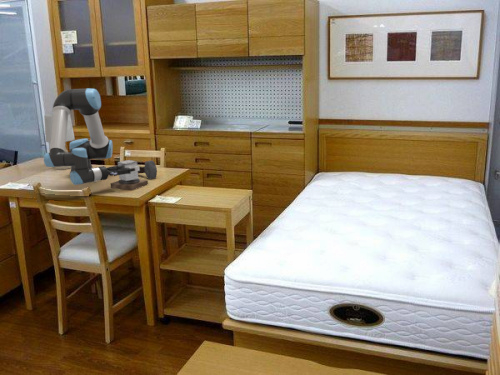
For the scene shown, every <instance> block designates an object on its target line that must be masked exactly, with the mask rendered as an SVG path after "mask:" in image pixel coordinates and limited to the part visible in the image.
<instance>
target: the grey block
mask: <svg viewBox="0 0 500 375" xmlns="http://www.w3.org/2000/svg"><path fill="white" fill-rule="evenodd" d="M117 165H118V169H126V168H130V167H135V166H138V161H135V160H133V159H127V160H121V161H117ZM118 177H119V178H118V179H119V180H121V179H122V180H125V181H128V180H133V179H139V173H138V171H135V172H131V173H130V174H123V175H118Z"/></svg>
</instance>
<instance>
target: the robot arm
mask: <svg viewBox="0 0 500 375" xmlns="http://www.w3.org/2000/svg"><path fill="white" fill-rule="evenodd" d="M101 107H102V100H101V95H100V93H99V91H98V90H97V89H96V88H90V87H89V88H72V89H71V88H69V89H65V90H63V91H62V92H61V93H60V94H58V96H57V97H56V98H55V100H54V102H53V104H52V112H53V114H54V118H53V127H52V135H51V142H50V144H49V152H45V154H44V155H43V162H44V165H45V167H48V168H55V167H61V166H71V168H70V171H69V179H70V182H71V183H72V184H73V185H74V186H76V185H77V186H78V185H83V184H88V183H93V182H94V183H96V182H99V181H104V180H107V179H108V178H109V176H110V177H113V176H114V177H115V176H119V175H123V174H130V173H131V172H135V171H140V169H139V167H140V165H137V166H135V167H130V168H126V169H118V164H117V165H113V166H110V167H106V166H104V165H103V166H96V167H93V165H92V164H91V163H92V162H91V160H103V159H104V160H105V159H111V158H112V156H113V149H114V145H113V140H111V139H109V138H108V136H107V135H105V132H104V128H103V125H102V121H101V117H100V114H99V111H100V109H101ZM72 110H73V111H75V110H76V111H79V113H80V114H81V115H82V116H83V118H84V122H85V124H86V127H87V131H88V133H89V134H88V135H89V137H90V139H88V138H79V139H75V140H72V141H69V143H68V144H69V151H68V152H64V151H65V147H66V145H65V144H66V133H67V123H68V115H69V114H70V115H71V111H72Z"/></svg>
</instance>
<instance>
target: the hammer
mask: <svg viewBox="0 0 500 375" xmlns="http://www.w3.org/2000/svg"><path fill="white" fill-rule="evenodd" d="M139 169H140V171H138V174H145V177H146V178H147V180H153V178H154V179H156V178H157V173H158V170H157V165H156V163H155V161H154V160H147V161H145V162H144V165H143V166H139Z"/></svg>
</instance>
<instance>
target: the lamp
mask: <svg viewBox="0 0 500 375" xmlns="http://www.w3.org/2000/svg"><path fill="white" fill-rule="evenodd" d="M43 116H44V130H45V131H44V132H45V134H44V135H45V142H46V143H51V135H52V127H53V118H54V113H50V114H49V113H48V114H45V115H43ZM72 122H73V121H72V116H71V113H70V114H69V115H68V123H67V133H66V142H72V141H75V140H76V139H75V137H76V136H75V132H74V128H73V123H72ZM66 142H65V151H64V152H69V151H68V149H67V147H66V145H67V144H66ZM54 168H55V170H58V171H59V170H60V171H62V170H71V166H61V167H54Z"/></svg>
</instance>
